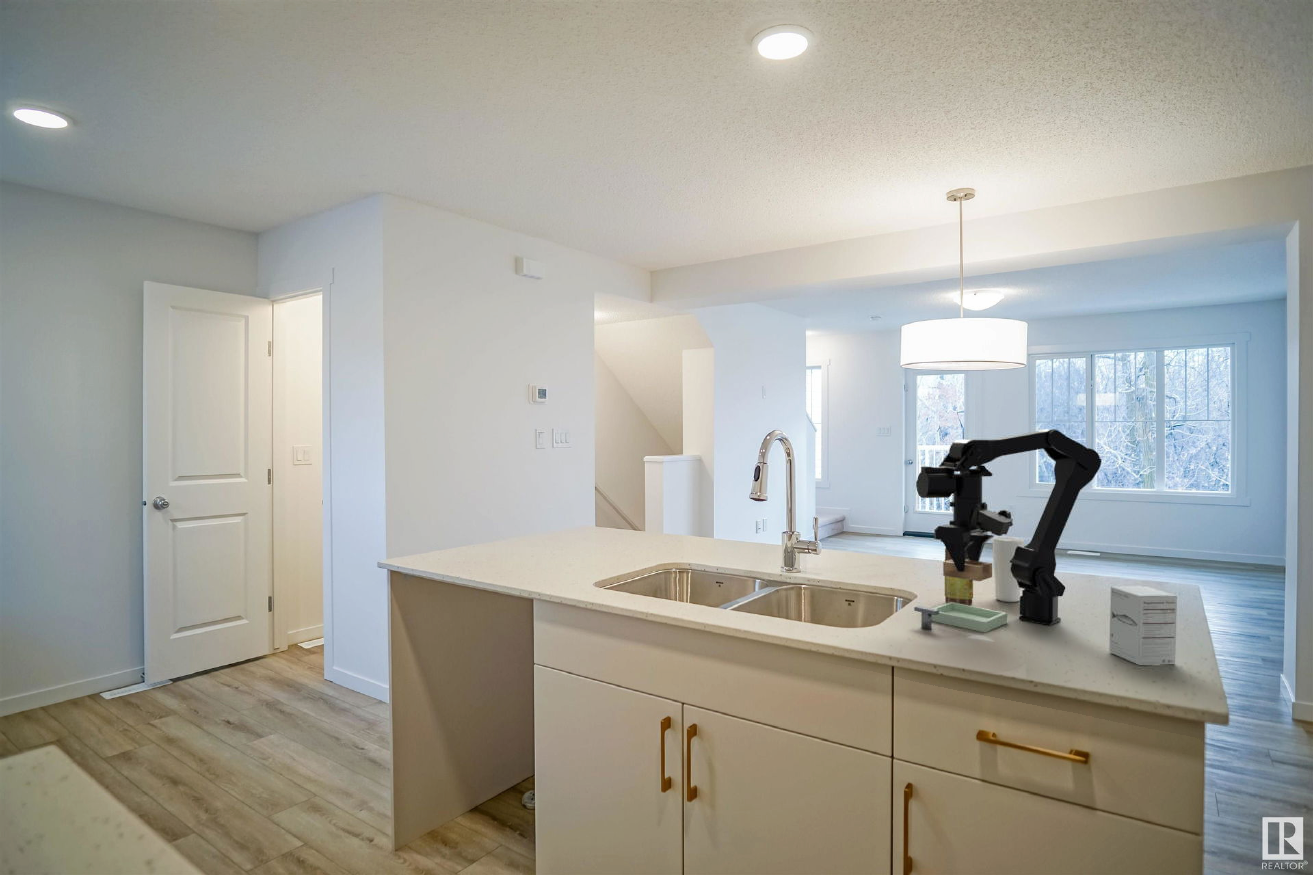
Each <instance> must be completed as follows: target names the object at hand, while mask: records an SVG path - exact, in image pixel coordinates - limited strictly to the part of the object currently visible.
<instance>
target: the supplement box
mask: <svg viewBox="0 0 1313 875" xmlns="http://www.w3.org/2000/svg"><path fill="white" fill-rule="evenodd" d="M1177 608H1178V596H1177V595H1176V594H1173V593H1168V592H1166V591H1163V590H1159V589H1156V588H1153V587H1148V586H1145V585H1124V586H1123V585H1122V586H1121V585H1117V586H1110V609H1109V610H1110V612H1109V645H1108V646H1109V647H1108V652H1109V653H1110V654H1114V655H1116V656H1118V657H1120V658H1123V659H1124V660H1127V661H1128V662H1131V663H1133V662H1134V663H1133V664H1135V663H1136V665H1137V664H1138V665H1137V666H1139V665H1152V666H1155V665H1154V664H1175V665H1176V650H1177V649H1176V644H1177V639H1176V638H1177V615H1178V614H1177V612H1178V609H1177Z"/></svg>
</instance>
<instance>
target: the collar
mask: <svg viewBox="0 0 1313 875" xmlns="http://www.w3.org/2000/svg"><path fill="white" fill-rule="evenodd" d="M942 562H943V564H942V567H943V568H942V572H943V573H942V575H943V576H944V577H945V576H949V577H955V578H961V579H967V580H973V582H974V581H975V582H982V581H984V580H988V579H990V578H992V577H993V562H988V561H981V560H979V561H974V560H967V559H966V560H965V567H964V571H963V572H959V571H958V570H957V568H956V566H955V564H954V562H953V560H948V561H945V560H944V561H942Z"/></svg>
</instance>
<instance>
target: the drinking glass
mask: <svg viewBox="0 0 1313 875" xmlns="http://www.w3.org/2000/svg"><path fill="white" fill-rule="evenodd" d="M1024 543H1025V540H1024V539H1023V538H1020V537H1011V536H994V537H993V538H992V561H993V562H992V566H993V574H994V577H993V578H994V588H995V589H994V592H995V595H994V596H995V599H996V600H998V601H1001V602H1005V603H1017V602H1020V596H1021V588H1019V586H1018V583H1017V581H1016V579H1015V578H1014V577H1013V575H1012V572H1011V564H1012V563H1010V560H1011V559H1012V558H1013V556H1014V554H1015V549H1016V548H1017V546H1021V547H1025V544H1024Z"/></svg>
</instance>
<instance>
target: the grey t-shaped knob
mask: <svg viewBox="0 0 1313 875" xmlns="http://www.w3.org/2000/svg"><path fill="white" fill-rule="evenodd" d="M932 608H933V607H932ZM932 608H931V607H925V606H921V605H916V606H914V608H913V610H914V611H915V612H917V613H918V612H919V613H921V620H920V622H921V626H920V628H921V629H922V630H923V631H924V630H925V631H931V630H932V627H933V626H932V625H933V623H932V622H933V621H932V615H938V614H939V610H936V609H932Z"/></svg>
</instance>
